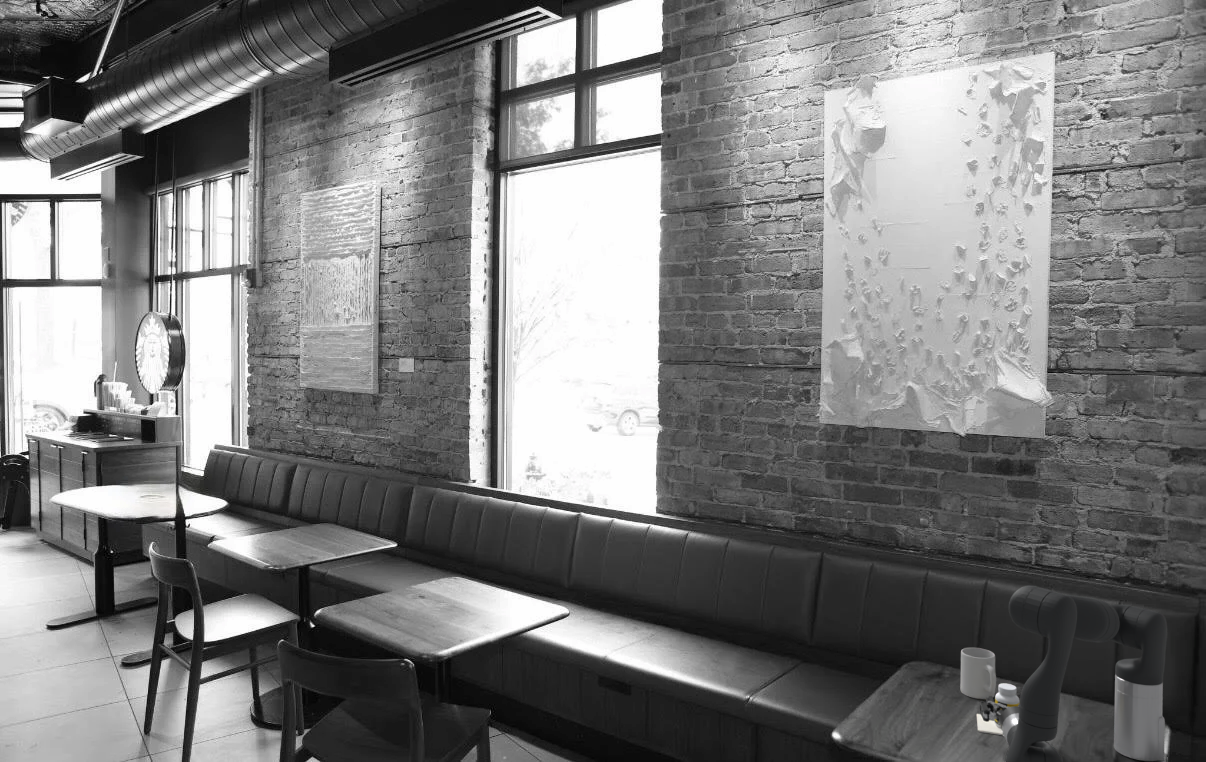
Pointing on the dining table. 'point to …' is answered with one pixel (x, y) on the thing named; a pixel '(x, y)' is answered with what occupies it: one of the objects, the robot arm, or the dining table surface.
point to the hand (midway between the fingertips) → (1009, 702)
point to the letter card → (988, 726)
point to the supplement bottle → (1006, 697)
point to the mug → (978, 673)
